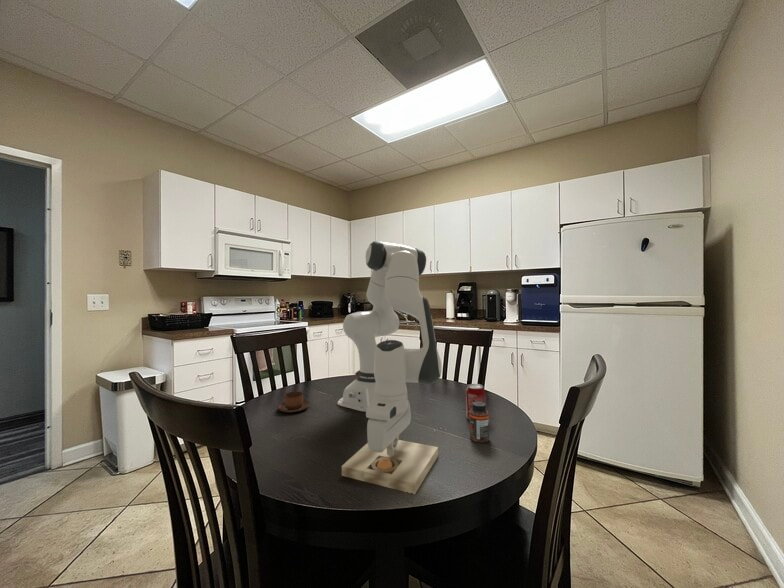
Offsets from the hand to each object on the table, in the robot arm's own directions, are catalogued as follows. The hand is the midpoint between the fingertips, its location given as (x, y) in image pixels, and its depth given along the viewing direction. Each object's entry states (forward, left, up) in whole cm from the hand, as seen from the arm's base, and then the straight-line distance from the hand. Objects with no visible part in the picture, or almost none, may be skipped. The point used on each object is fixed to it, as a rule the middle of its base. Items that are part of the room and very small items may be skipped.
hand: (392, 453), depth 88 cm
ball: (0, -4, -2) cm, 5 cm away
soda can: (+15, +41, -4) cm, 44 cm away
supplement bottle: (+19, +25, -4) cm, 31 cm away
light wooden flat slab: (0, +1, -4) cm, 4 cm away
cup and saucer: (-55, +24, -4) cm, 60 cm away
